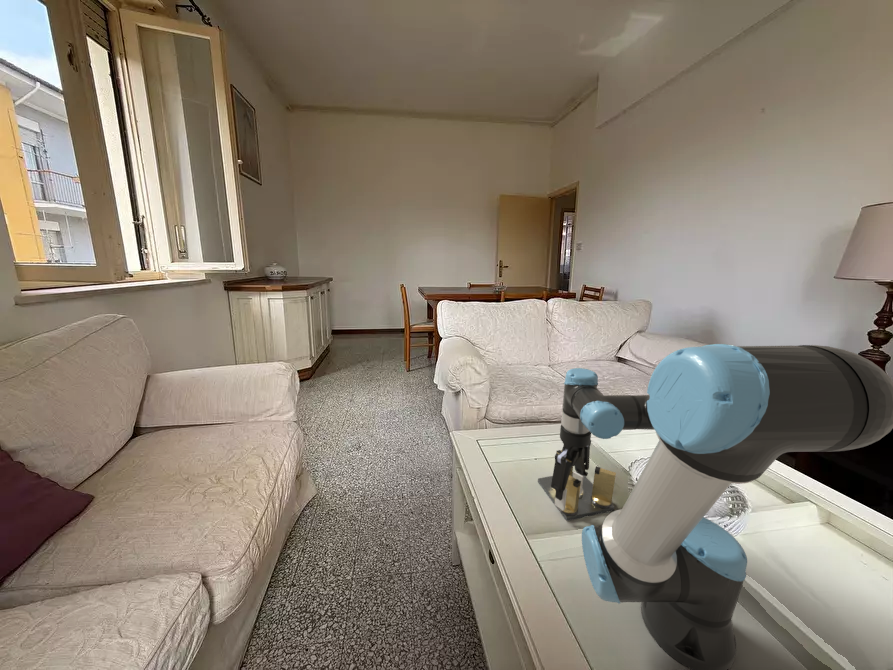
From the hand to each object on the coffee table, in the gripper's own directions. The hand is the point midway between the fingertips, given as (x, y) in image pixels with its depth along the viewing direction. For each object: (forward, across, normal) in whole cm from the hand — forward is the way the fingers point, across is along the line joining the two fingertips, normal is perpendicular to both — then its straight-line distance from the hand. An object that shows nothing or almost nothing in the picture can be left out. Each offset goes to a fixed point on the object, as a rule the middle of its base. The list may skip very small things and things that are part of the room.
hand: (568, 500), depth 95 cm
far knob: (+2, -10, -8) cm, 12 cm away
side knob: (+2, -10, +5) cm, 11 cm away
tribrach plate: (+4, -7, -2) cm, 8 cm away
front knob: (+2, 0, 0) cm, 2 cm away
